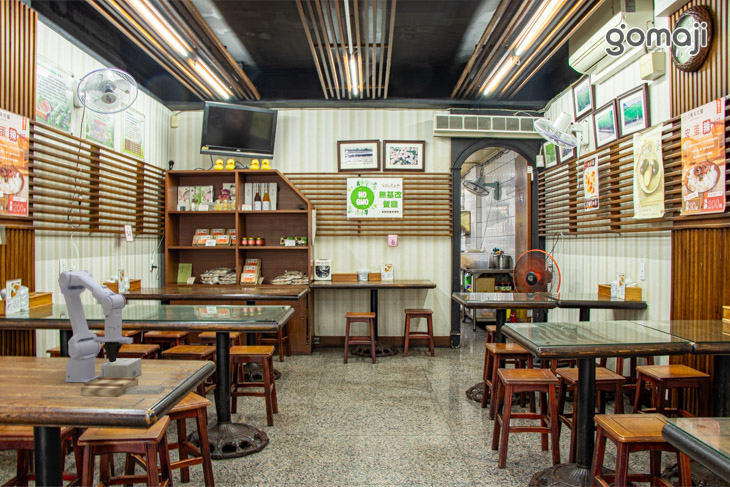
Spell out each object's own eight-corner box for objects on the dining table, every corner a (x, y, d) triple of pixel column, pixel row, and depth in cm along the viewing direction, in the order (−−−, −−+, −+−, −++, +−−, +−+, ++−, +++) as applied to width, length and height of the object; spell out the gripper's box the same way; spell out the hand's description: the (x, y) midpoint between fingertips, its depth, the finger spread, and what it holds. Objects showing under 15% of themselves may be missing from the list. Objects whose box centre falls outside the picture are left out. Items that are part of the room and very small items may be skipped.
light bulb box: (142, 373, 181) (116, 373, 182) (141, 357, 181) (116, 357, 182) (127, 381, 171) (100, 381, 171) (127, 364, 171) (100, 364, 171)
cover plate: (124, 395, 157) (124, 389, 157) (132, 390, 162) (132, 385, 162) (157, 395, 157) (157, 390, 157) (164, 390, 162) (164, 385, 162)
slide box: (80, 395, 155) (80, 385, 155) (103, 385, 167) (103, 375, 167) (118, 396, 154) (118, 386, 154) (138, 386, 166) (138, 376, 166)
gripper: (87, 327, 163) (87, 363, 163) (124, 328, 162) (124, 365, 162) (100, 324, 170) (100, 358, 170) (136, 325, 169) (135, 360, 169)
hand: (112, 361), depth 166 cm, fingers closed
